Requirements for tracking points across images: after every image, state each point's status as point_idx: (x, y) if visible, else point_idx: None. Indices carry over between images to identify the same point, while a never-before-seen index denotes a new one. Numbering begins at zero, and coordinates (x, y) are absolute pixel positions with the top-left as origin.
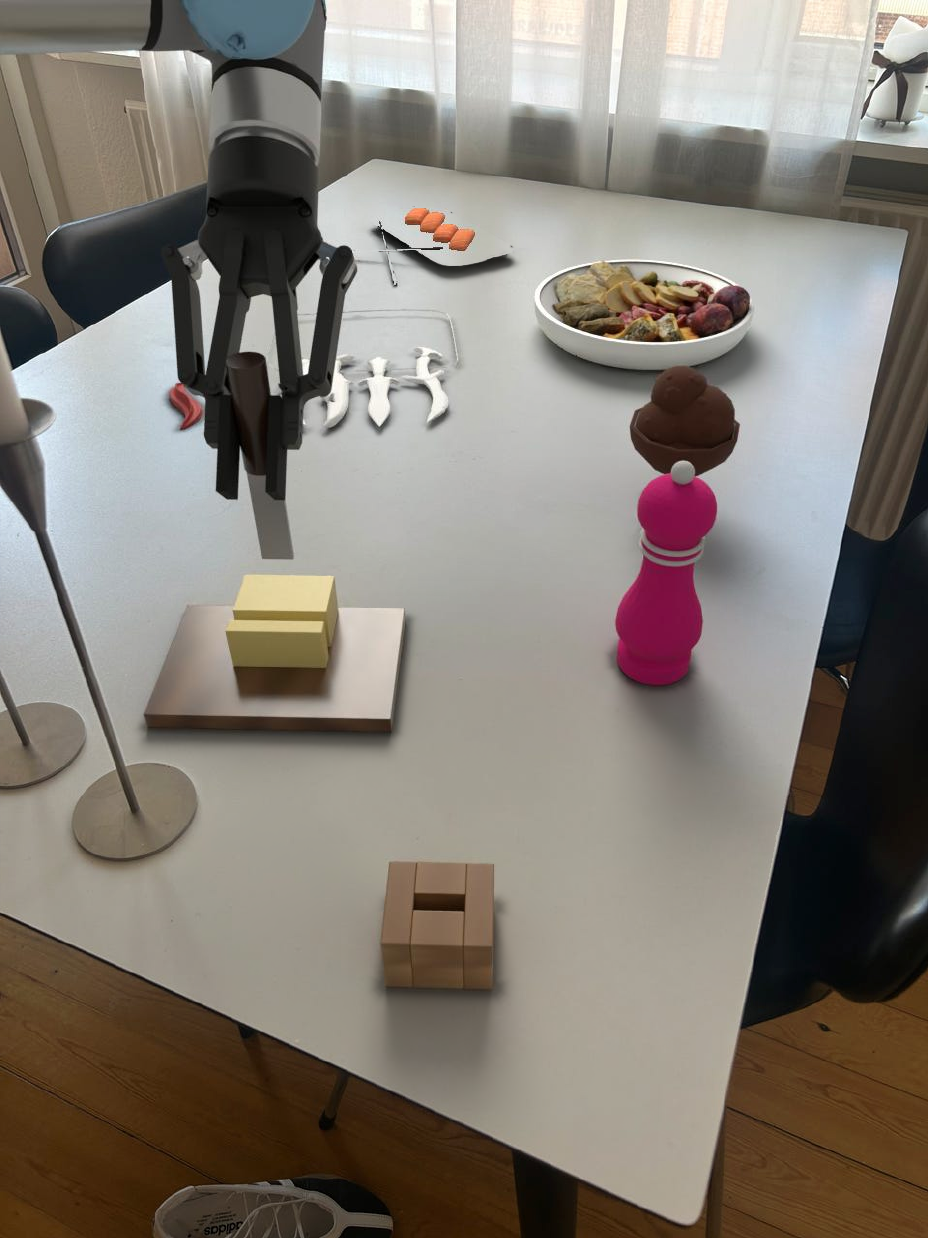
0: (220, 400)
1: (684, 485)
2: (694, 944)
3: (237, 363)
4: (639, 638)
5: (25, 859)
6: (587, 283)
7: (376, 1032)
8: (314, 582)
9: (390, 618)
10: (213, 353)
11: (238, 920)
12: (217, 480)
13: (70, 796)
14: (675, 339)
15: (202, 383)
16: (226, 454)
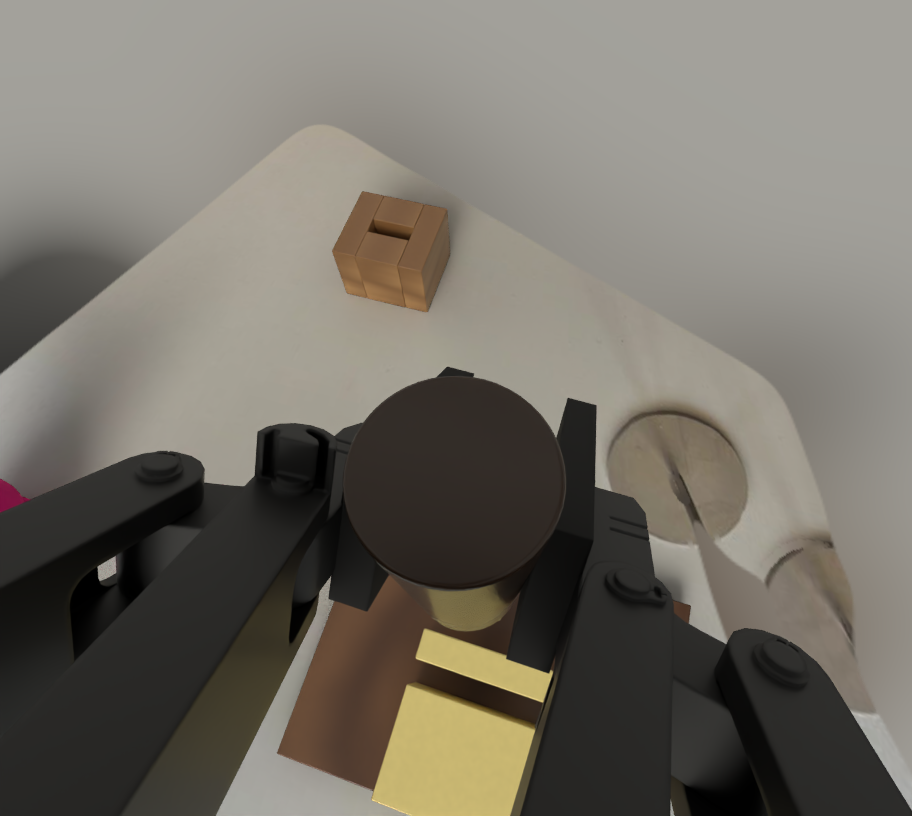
0: (590, 528)
1: None
2: (213, 237)
3: (499, 436)
4: (5, 493)
5: (784, 437)
6: None
7: (463, 228)
8: (411, 786)
9: (307, 729)
10: (644, 719)
11: (562, 328)
12: (592, 412)
13: (758, 512)
14: None
15: (683, 651)
16: (567, 431)
